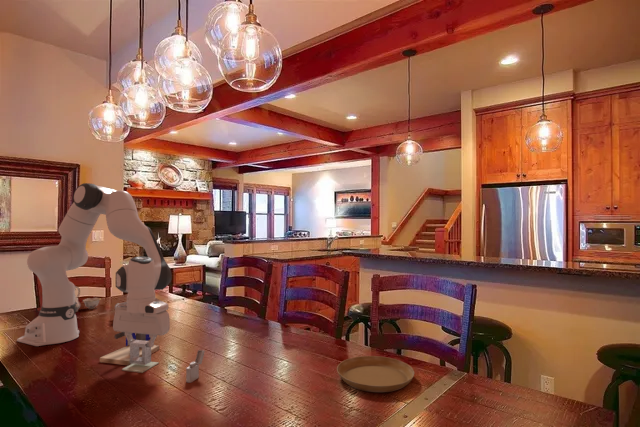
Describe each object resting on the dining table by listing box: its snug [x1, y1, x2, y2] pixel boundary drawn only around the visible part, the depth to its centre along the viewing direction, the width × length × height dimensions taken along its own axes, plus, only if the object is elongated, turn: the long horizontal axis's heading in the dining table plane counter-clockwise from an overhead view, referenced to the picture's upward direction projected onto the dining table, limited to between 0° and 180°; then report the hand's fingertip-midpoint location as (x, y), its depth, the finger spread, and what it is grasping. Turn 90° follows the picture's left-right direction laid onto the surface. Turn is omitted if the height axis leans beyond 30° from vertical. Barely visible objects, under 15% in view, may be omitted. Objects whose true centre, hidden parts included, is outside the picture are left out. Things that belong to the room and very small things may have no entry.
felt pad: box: [121, 361, 159, 374], centre depth 126 cm, size 8×8×1 cm
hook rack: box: [99, 332, 161, 366], centre depth 137 cm, size 12×16×12 cm
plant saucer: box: [336, 355, 415, 393], centre depth 117 cm, size 24×24×3 cm
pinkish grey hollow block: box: [130, 340, 152, 365], centre depth 126 cm, size 6×3×7 cm, turn 76°
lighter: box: [185, 349, 205, 383], centre depth 118 cm, size 7×2×8 cm, turn 162°
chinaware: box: [75, 285, 102, 313], centre depth 201 cm, size 28×17×17 cm, turn 177°
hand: (140, 345), depth 126 cm, fingers open, 6 cm apart
